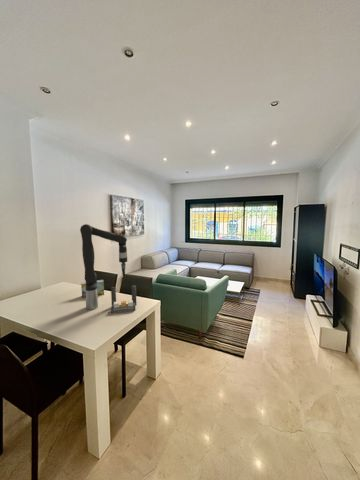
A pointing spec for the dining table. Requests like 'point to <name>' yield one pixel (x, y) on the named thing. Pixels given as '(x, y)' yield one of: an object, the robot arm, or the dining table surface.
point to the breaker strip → (123, 308)
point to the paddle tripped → (123, 303)
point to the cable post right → (134, 294)
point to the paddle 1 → (116, 304)
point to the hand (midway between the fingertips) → (123, 274)
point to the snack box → (99, 288)
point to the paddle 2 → (130, 303)
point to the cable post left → (113, 295)
